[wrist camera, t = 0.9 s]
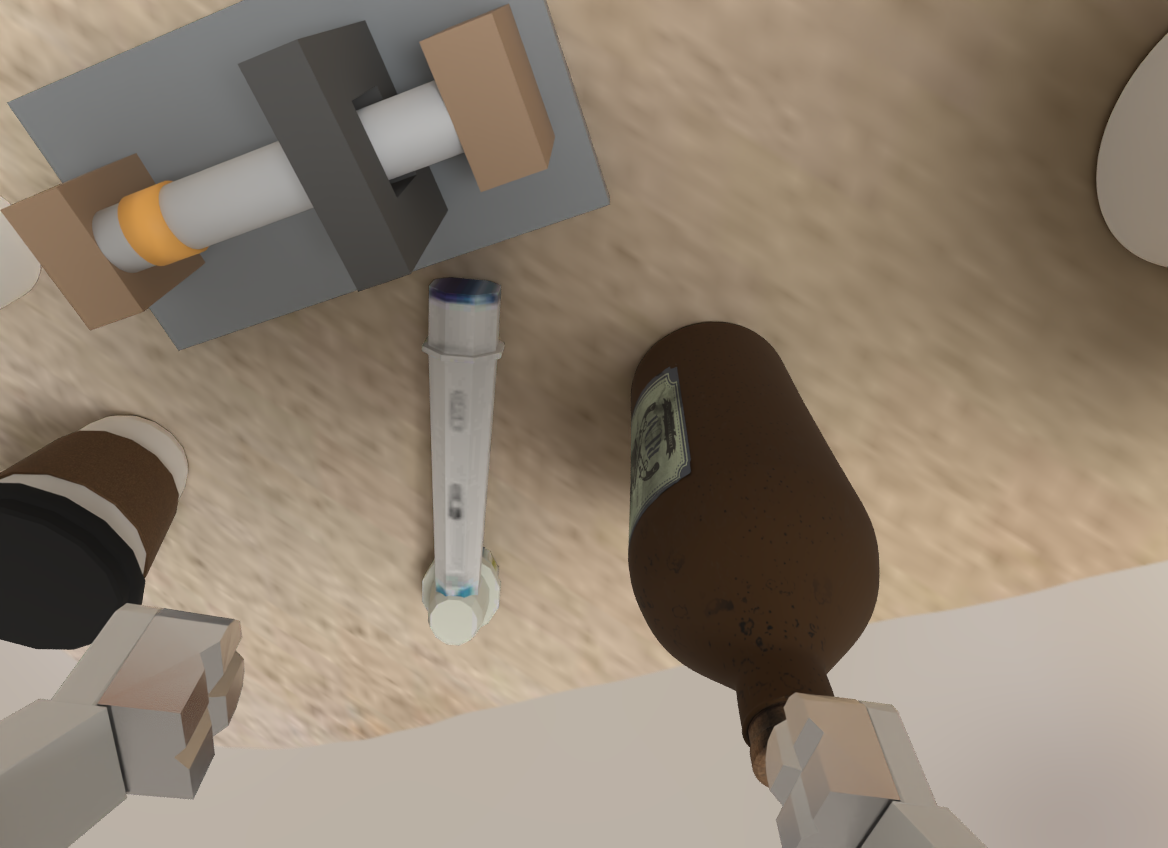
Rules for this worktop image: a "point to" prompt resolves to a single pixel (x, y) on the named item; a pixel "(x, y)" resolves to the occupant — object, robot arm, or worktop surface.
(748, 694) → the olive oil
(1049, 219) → the worktop surface
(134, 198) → the pipe stand
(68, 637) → the coffee cup
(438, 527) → the electric toothbrush
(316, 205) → the collar
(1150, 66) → the robot arm
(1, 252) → the cylindrical container
